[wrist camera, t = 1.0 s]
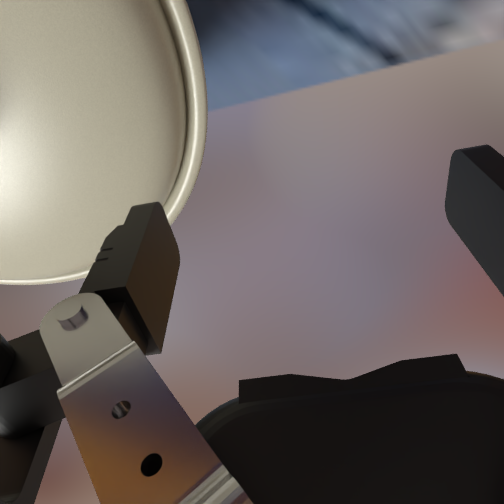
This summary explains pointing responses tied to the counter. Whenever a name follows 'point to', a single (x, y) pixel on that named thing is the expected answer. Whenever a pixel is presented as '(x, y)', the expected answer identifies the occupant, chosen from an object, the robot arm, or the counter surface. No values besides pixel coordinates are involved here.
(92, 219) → the canister
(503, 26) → the counter surface
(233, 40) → the counter surface
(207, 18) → the counter surface
